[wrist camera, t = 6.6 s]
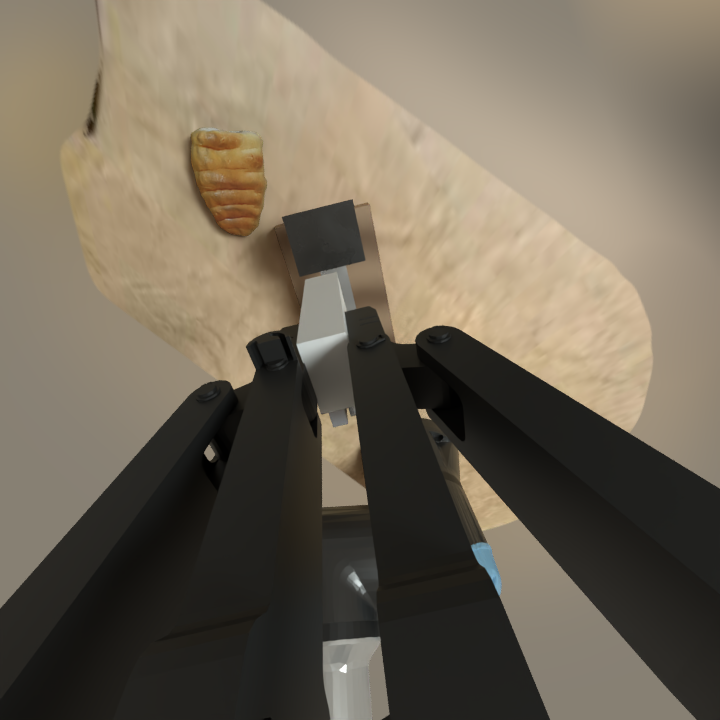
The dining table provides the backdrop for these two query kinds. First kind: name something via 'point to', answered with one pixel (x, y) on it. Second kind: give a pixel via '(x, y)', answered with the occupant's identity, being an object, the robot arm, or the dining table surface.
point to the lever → (327, 244)
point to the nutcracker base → (351, 280)
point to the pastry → (230, 177)
